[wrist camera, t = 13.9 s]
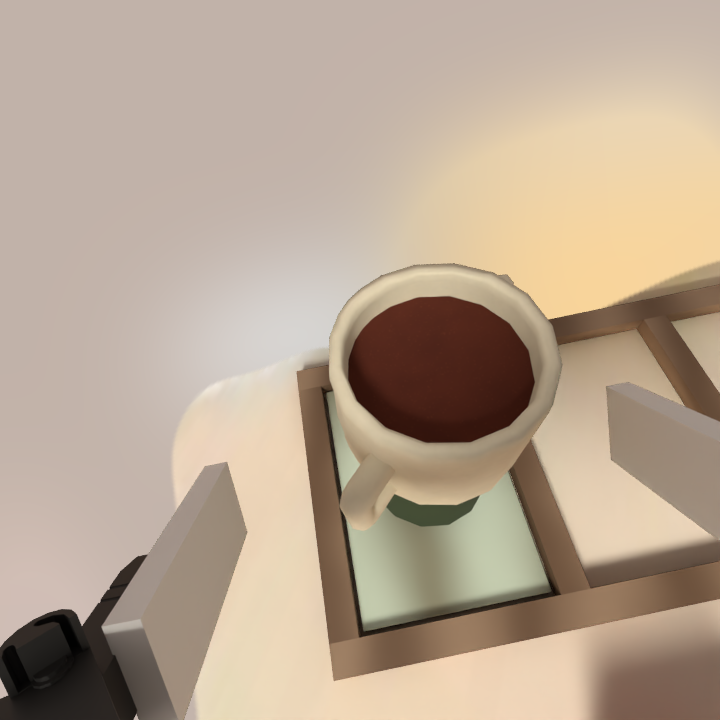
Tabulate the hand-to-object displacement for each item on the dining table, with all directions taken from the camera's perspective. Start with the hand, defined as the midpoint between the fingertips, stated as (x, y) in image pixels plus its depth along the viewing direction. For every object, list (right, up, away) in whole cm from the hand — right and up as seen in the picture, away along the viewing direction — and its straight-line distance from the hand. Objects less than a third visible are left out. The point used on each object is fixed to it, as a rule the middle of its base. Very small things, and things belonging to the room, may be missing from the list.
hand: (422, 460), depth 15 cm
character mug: (+2, -3, +10) cm, 10 cm away
